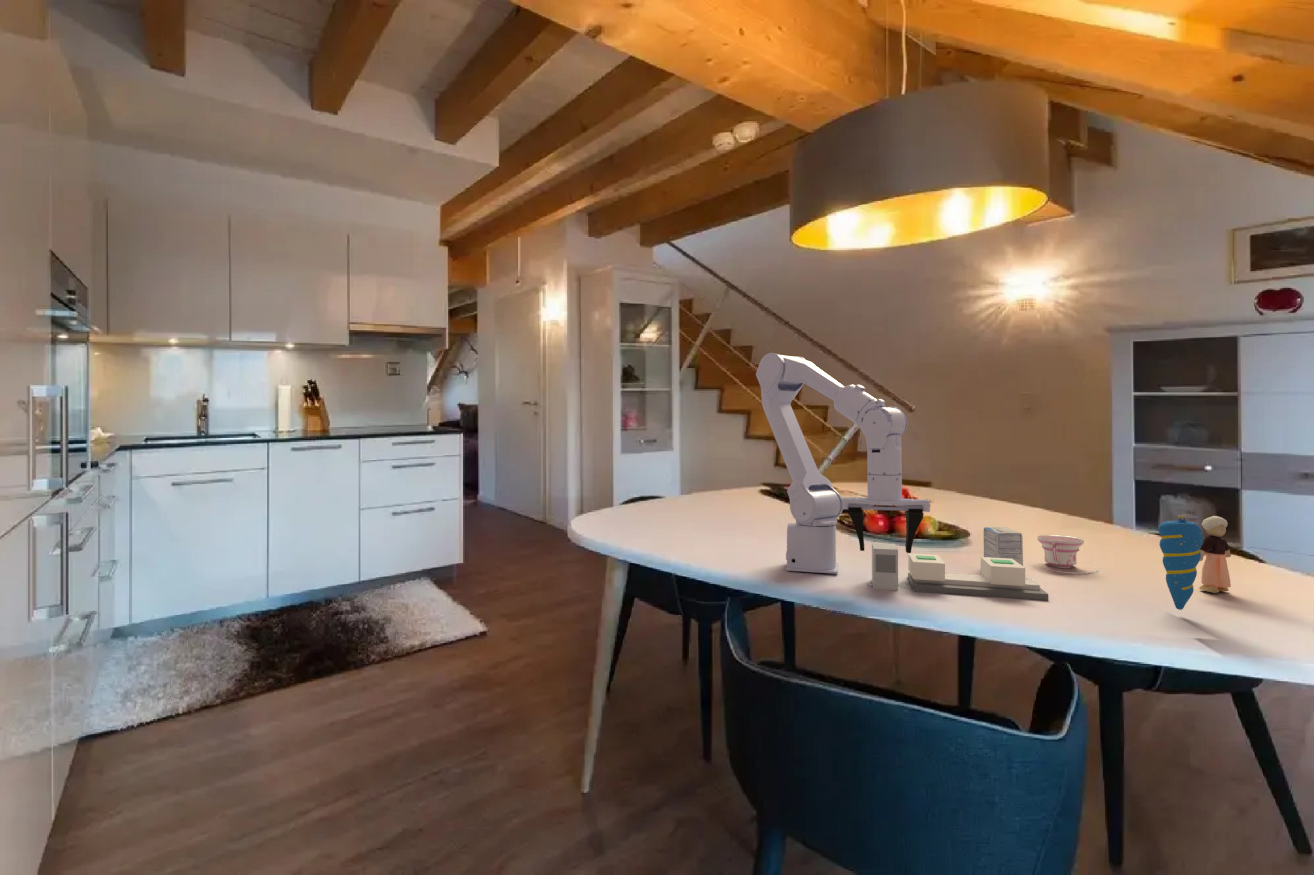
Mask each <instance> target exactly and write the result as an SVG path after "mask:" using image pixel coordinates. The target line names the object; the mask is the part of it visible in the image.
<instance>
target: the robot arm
mask: <svg viewBox="0 0 1314 875" xmlns="http://www.w3.org/2000/svg"><path fill="white" fill-rule="evenodd" d="M755 376H756V379H757V381H758V384H759V386H760V393H761V394H760V395H761V398H760V399H761V406H762V408H763V412H764V414H765V418H766V420H767V422H768V424H769V427H770V429H771V431H772V434H773V436H774V440H775V441H776V443H777V447H778V449H779V451H780V454H781V456H782V459H783V461H784V464H785V465H786V468H787V471H788V474H789V475H790V479H791V481H792V482H791V483H790V486H789V487H788V489H787V490H786V493H787V494H788V495H787V496H788V498H789V510H790V513H791V515H792V517H793V519H794V520H795V522H792V523H788V524H787V527H786V528H787V529H786V551H785V557H786V558H785V560H786V571H787V572H788V571H789V572H803V573H820V574H838V573H839V563H837V558H836V557H837V545H836V544H837V542H836V540H837V525H836V524H837V523H838V518H839V517H840V516H841V515H842V513H843V510H847V511H848V515H849V517H850V520H851V522H852V523H853V526H854V529H855V530H854V531H856V535H857V539H858V543H859V551H860V552H865V539H864V537H865V536H864V511H863V510H865V511H866V510H868V511H869V510H875V511H905V528H906V529H905V530H906V533H905V545H904V546H905V547H904V548H905V552H906V553H907V554H908V553H912V546H913V542H914V539H915V536H916V533H917V531H918V529H919V527H920V524H921V522H922V520H923V518H924V515H925V514H924V512H926V513H927V512H928V513H929V512H930V511H931V510H930V509H931V504H930V500H929V499H918V498H917V499H916V498H903V490H902V489H903V486H902V485H903V478H902V477H903V475H902V473H903V471H902V467H903V465H902V464H903V463H902V462H903V461H902V460H903V459H902V458H903V457H902V451H903V450H902V448H903V447H902V436H903V435H904V434H905V433H906V431H907V429H908V422H909V421H908V418H907V416H906V414H905V413H904V411H903V410H901V409H900V408H899V406H898V407H897V406H886V404H885V403H886V401H885V400H884V399H882V398H876V397H874V396H872V395H871V394H869V393H868V392H866V387H864V386H863V385H862V384H848V385H845V386H844V385H843V384H842V383H840V382H838V381H837V380H836V379H835V378H833V377H832V376H831V375H829V374H828V373H826V372H825V371H823V370H822V369H821V368H819V367H818V366H816V364H814V363H813V361H809V360H806V359H805V358H804V357H803V356H799V355H798V356H797V355H796V356H794V355H793V356H792V355H791V356H790V355H785V354H778V353H774V352H770V353H769V352H768V353H766V354H765V355H764V356H763V357H762V358H761V359H760V361H759V364H758V367H757V370H756V373H755ZM804 385H806V386H808V387H810V388H812V389H813V390H815V391H817V392H818V393H820V394H821V395H823V396H825V397H827V398H829V399H830V400H832V401H833V407H834V410H835V411H836V412H838V413H839V414H841V415H842V416H843V417H845V418H846V419H848V420H850V421H851V422H853V423H854V424H856V425H857V427H859V428H860V430H861V433H862V435H863V436H864V437H865V444H866V449H867V452H866V454H867V456H866V458H867V465H866V466H867V468H866V469H867V473H866V475H867V478H866V480H867V497H842V496H841V494H840V493H839V492H838V491H837V490H836V489H835V488H834V487H833V484H832V482H831V481H830V479H828V478H827V477H826V476H825V475H823V474H822V473H821V472H820V471H819V469H818V467H817V464H816V462H815V459H814V457H813V455H812V453H811V450H810V448H809V446H808V443H807V440H806V438H805V436H804V434H803V431H802V429H801V426H800V424H799V422H798V420H797V417H796V415H795V413H794V409H793V408H792V405H791V404H792V401H793V400H794V399H795V398H796V396H797V395H798V393H799V392H800V391H801V389H802V388H803V386H804Z"/></svg>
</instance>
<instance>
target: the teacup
mask: <svg viewBox="0 0 1314 875" xmlns="http://www.w3.org/2000/svg"><path fill="white" fill-rule="evenodd" d="M1037 541H1038V542H1039V543H1040V544H1041V548H1042V549H1043V551H1044V558H1043V559H1044V562H1045V563H1046V564H1048V565H1049V566H1050V567H1054V568H1055V567H1056V568H1061V569H1071V568H1072V567H1073V566H1075V565H1077V563H1078V561H1077V554H1078V552H1080V547H1081V546H1083V545H1084V542H1085V540H1084V539H1083V538H1081V537H1076V536H1070V535H1062V534H1058V535H1057V534H1042V535H1041V534H1040V535H1038V536H1037ZM1035 568H1036V569H1039V570H1044V571H1047V572H1053V573H1059V572H1060V574H1070V573H1071V574H1070V575H1091V574H1095V572H1096V573H1098V572H1099V568H1097V569H1096V570H1095V568H1096V567H1095V566H1093V568H1094V570H1093V571H1089V572H1087V571H1085V572H1081V571H1080V572H1076V571H1075V572H1073V571H1062V570H1061V571H1060V570H1053V569H1047V568H1041V567H1037V566H1036V567H1035Z"/></svg>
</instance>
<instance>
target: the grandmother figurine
mask: <svg viewBox="0 0 1314 875" xmlns="http://www.w3.org/2000/svg"><path fill="white" fill-rule="evenodd" d="M1228 525H1229V524H1228V521H1227V519H1225V518H1223V517H1221V516H1218V515H1212V516H1210V517H1207V518H1205V519H1203V520H1202V523H1201V527H1202V528H1203V529H1205V532H1206V534H1208V535H1207V536H1205V537H1203V543H1202V546H1201V548H1200V550H1199V551H1200V553H1201V558H1200V561H1199V562H1202V561H1203V560H1204V557H1205V560H1204V562H1203V565H1202V567H1201V580H1200V582H1201V584H1202V585H1200V586H1199V587H1198V590H1201V591H1205V592H1209V593H1220V592H1228V591H1230V590H1229V588H1232V585H1231V584H1232V583H1231V578H1230V572H1229V571H1230V570H1229V567H1228V562H1227V558H1231V556H1232V553H1231V551H1230V546H1229V544H1228V542H1227V540H1226V539H1225V538H1223V536H1225V534H1226V533H1227V529H1226V528H1227V527H1228Z"/></svg>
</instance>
